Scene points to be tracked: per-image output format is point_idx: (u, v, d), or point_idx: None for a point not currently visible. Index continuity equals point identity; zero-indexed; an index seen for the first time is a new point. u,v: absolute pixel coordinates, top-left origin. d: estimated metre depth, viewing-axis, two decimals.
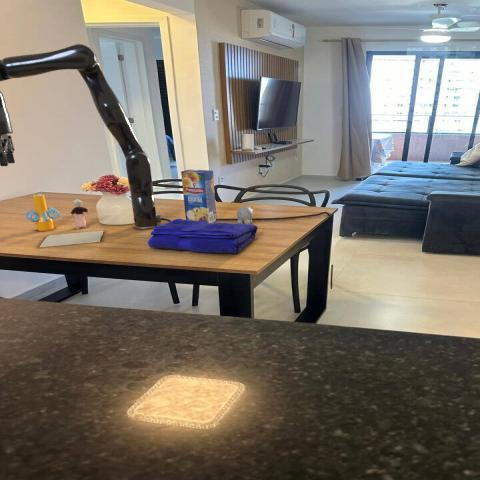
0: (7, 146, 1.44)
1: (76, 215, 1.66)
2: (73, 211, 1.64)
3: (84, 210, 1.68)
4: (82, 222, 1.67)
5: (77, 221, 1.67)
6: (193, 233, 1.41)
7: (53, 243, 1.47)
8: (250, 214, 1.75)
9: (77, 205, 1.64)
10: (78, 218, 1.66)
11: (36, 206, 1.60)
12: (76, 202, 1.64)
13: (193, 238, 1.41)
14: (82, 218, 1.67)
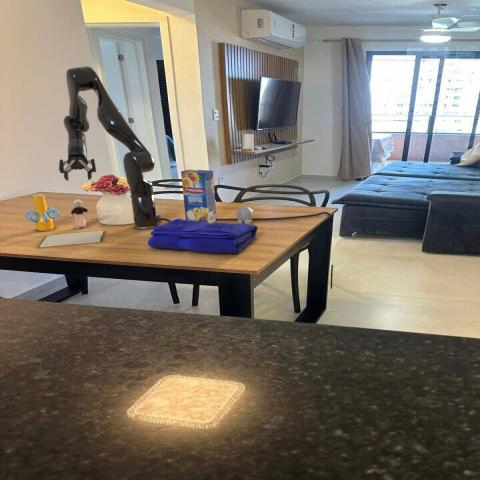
0: (77, 165, 1.74)
1: (76, 215, 1.66)
2: (73, 211, 1.64)
3: (84, 210, 1.68)
4: (82, 222, 1.67)
5: (77, 221, 1.67)
6: (193, 233, 1.41)
7: (53, 243, 1.47)
8: (250, 214, 1.75)
9: (77, 205, 1.64)
10: (78, 218, 1.66)
11: (36, 206, 1.60)
12: (76, 202, 1.64)
13: (193, 238, 1.41)
14: (82, 218, 1.67)
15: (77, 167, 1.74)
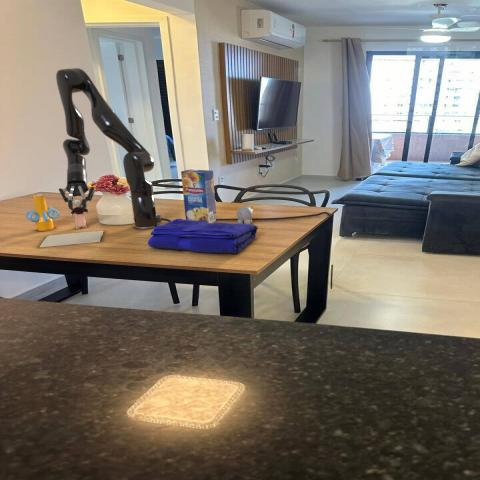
0: (77, 192, 1.66)
1: (76, 215, 1.66)
2: (73, 211, 1.64)
3: (84, 210, 1.68)
4: (82, 222, 1.67)
5: (77, 220, 1.67)
6: (193, 233, 1.41)
7: (53, 243, 1.47)
8: (250, 214, 1.75)
9: (77, 205, 1.64)
10: (78, 218, 1.66)
11: (36, 206, 1.60)
12: (76, 202, 1.64)
13: (193, 238, 1.41)
14: (82, 218, 1.67)
15: (76, 194, 1.67)
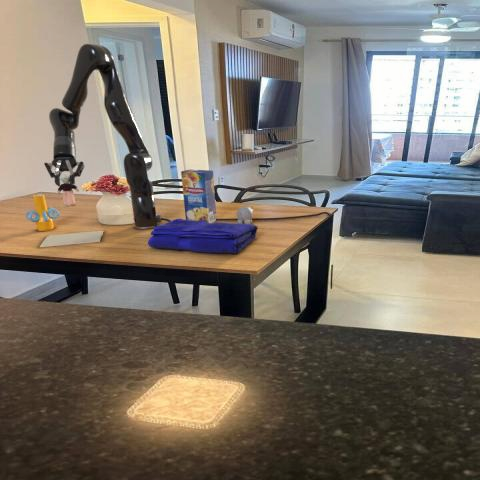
0: (64, 167, 1.51)
1: (64, 192, 1.51)
2: (60, 187, 1.49)
3: (73, 187, 1.53)
4: (71, 200, 1.52)
5: (66, 198, 1.51)
6: (193, 233, 1.41)
7: (53, 243, 1.47)
8: (250, 214, 1.75)
9: (65, 181, 1.49)
10: (66, 195, 1.51)
11: (36, 206, 1.60)
12: (63, 177, 1.49)
13: (193, 238, 1.41)
14: (71, 195, 1.52)
15: (64, 169, 1.51)
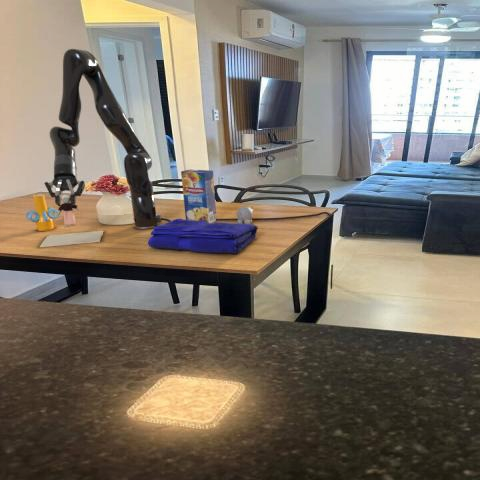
0: (65, 186, 1.49)
1: (64, 212, 1.49)
2: (61, 207, 1.48)
3: (73, 206, 1.51)
4: (71, 220, 1.50)
5: (66, 218, 1.50)
6: (193, 233, 1.41)
7: (53, 243, 1.47)
8: (250, 214, 1.75)
9: (65, 201, 1.48)
10: (67, 215, 1.50)
11: (36, 206, 1.60)
12: (64, 197, 1.47)
13: (193, 238, 1.41)
14: (71, 215, 1.50)
15: (64, 188, 1.50)
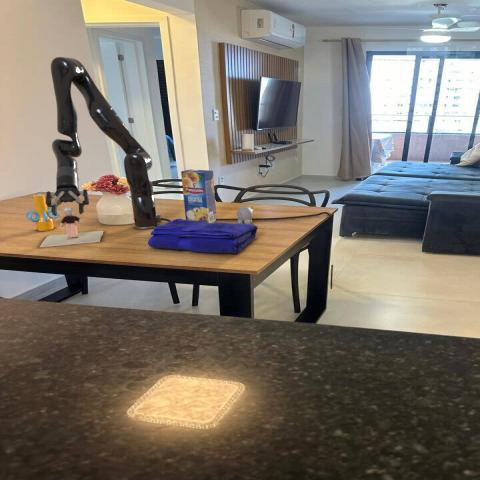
0: (67, 198, 1.51)
1: (67, 224, 1.51)
2: (63, 220, 1.49)
3: (76, 219, 1.53)
4: (73, 232, 1.52)
5: (68, 230, 1.52)
6: (193, 233, 1.41)
7: (53, 243, 1.47)
8: (250, 214, 1.75)
9: (68, 213, 1.49)
10: (69, 228, 1.51)
11: (36, 206, 1.60)
12: (67, 210, 1.49)
13: (193, 238, 1.41)
14: (73, 228, 1.52)
15: (67, 200, 1.51)
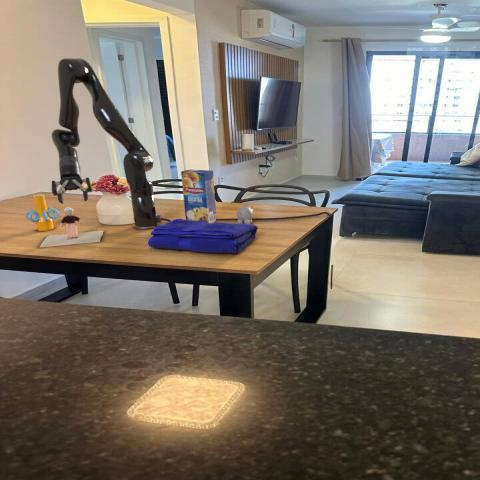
0: (71, 186, 1.61)
1: (67, 224, 1.51)
2: (63, 220, 1.49)
3: (76, 219, 1.53)
4: (73, 232, 1.52)
5: (68, 230, 1.52)
6: (193, 233, 1.41)
7: (53, 243, 1.47)
8: (250, 214, 1.75)
9: (68, 213, 1.49)
10: (69, 228, 1.51)
11: (36, 206, 1.60)
12: (67, 210, 1.49)
13: (193, 238, 1.41)
14: (73, 228, 1.52)
15: (71, 188, 1.61)
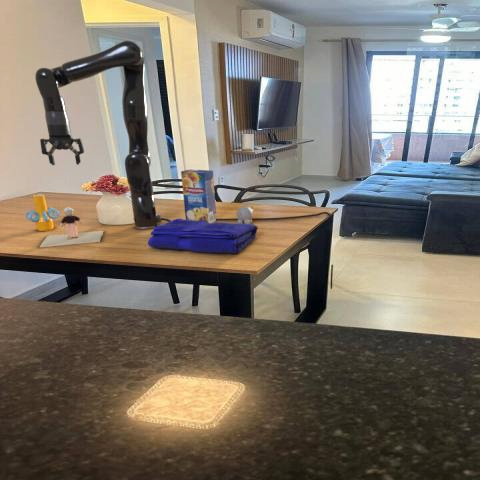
0: (62, 148, 1.53)
1: (67, 224, 1.51)
2: (63, 220, 1.49)
3: (76, 219, 1.53)
4: (73, 232, 1.52)
5: (68, 230, 1.52)
6: (193, 233, 1.41)
7: (53, 243, 1.47)
8: (250, 214, 1.75)
9: (68, 213, 1.49)
10: (69, 228, 1.51)
11: (36, 206, 1.60)
12: (67, 210, 1.49)
13: (193, 238, 1.41)
14: (73, 228, 1.52)
15: None
